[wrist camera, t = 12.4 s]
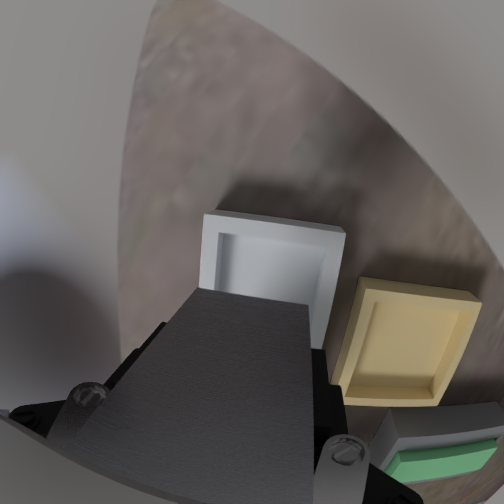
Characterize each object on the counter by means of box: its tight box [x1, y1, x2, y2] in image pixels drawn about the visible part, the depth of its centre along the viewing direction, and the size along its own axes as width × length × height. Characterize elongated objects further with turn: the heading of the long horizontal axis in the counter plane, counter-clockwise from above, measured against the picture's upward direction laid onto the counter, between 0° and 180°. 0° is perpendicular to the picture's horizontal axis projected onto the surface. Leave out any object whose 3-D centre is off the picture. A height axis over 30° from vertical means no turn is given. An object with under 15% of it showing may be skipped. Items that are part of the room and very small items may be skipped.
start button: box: [383, 438, 498, 483], centre depth 19 cm, size 12×4×2 cm, turn 84°
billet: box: [65, 287, 314, 504], centre depth 8 cm, size 4×4×9 cm
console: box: [368, 401, 504, 484], centre depth 21 cm, size 14×8×4 cm, turn 84°
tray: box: [199, 209, 346, 349], centre depth 21 cm, size 8×16×2 cm, turn 174°
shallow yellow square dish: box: [330, 276, 482, 407], centre depth 20 cm, size 10×10×2 cm
